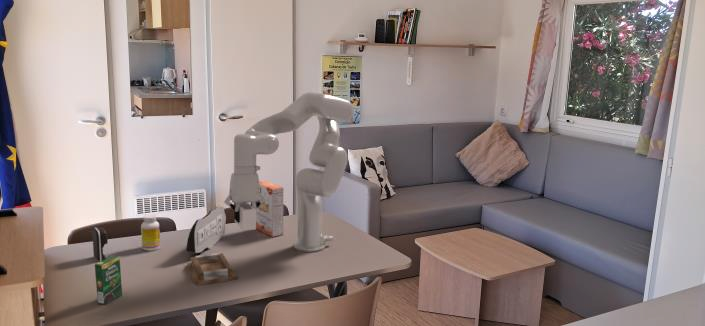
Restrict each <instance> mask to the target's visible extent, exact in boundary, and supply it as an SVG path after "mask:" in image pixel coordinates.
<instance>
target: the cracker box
mask: <svg viewBox="0 0 705 326" xmlns="http://www.w3.org/2000/svg"><path fill="white" fill-rule="evenodd" d="M259 184H260V193H261V194H262V196H263V197H264V198H265V201H264V202H263V203H262V204H260V206H259V207H258V208H257V210H256V229H255V230H258V231H260V232H262V233H263V234H265V235H267V236H270V237H272V238H274V237H280V236H283V235H284V187H282V186H279V185H277V184H274V183H273V182H270V181H267V180H263V181H259ZM255 203H256V202H255Z"/></svg>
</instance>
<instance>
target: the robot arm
mask: <svg viewBox="0 0 705 326" xmlns="http://www.w3.org/2000/svg"><path fill="white" fill-rule="evenodd" d="M354 113H355V108H354V105H353V104H352V102H350V101H349V100H347V99H345V98H339V97H336V96H333V95H331V94H330V95H329V94H326V93H325V94H324V93H319V92H306V93H303V94H302V95H300V96H299V97H297V99H295V100H294V101H292V103H291V104H289V105H288V106H286V107H285V108H284V109H283V110H282V111H279V112H277V113H274V114H272V115H270V116H267V117H265V118H263V119H260V120H259V121H257V122H255V124H253V125H252V126H251V127H249V129H247V130H246V131H245V133H237V135H235V136H234V138H233V172H232V173H231V175H230V180H229V181H230V182H229V193H228V195H227V197H226V198H225V200H224V201H223V202H224V204H225V205H227V206H228V207H229V208H231V209H232V210H233V211H234V213H233V215H234V216H233V218H234V221H235V220H236V221H237V223H239V222H240V212H239V205H240V203H250V204H251V205H252V206H253V207H254V208H255V209H256V210H257V208H258V207H259V206H260V204H262V203H263V202H264V201H265V198H264V197H263V196H262V194H261V193H260V184H259V182H260V179H259V173H258V171H260V170H261V166H260V165H257V155H265V156H267V155H272V154H274V153H276V151H278V148H279V147H280V146H279V145H280V142H279V139H278V137H277V136H276V135H279V134H286V133H290V132H295V131H296V130H298V129H299V128H301V126H303V125H304V124H305V123H306V122H308V120H310V119H311V118H312V117H314V116H315V117H316V118H317V120H318V123H319V124H318V125H319V129H318V134H317V135H316V138H315V140H314V143H313V145H312V147H311V150H310V152H309V156H308V157H309V158H308V160H309V163H310V164H311V165H312V166H314V167H317V168H320V169H324V170H320V169H316V168H311V167H310V168H309V167H307V168H302V169H300V170H299V171H298V172H297V174H296V176H295V188H296V193H297V240H296V241H294V242H293V248H294V249H295V250H297V251H300V252H306V253H308V252H309V253H313V252H318V251H323V250H324V249H325V248H326V242H331V241H334V237H333V235H328V234H325V235H324V234H323V233H322V232H323V230H322V229H323V228H322V227H323V201H322V198H331V197H332V196H334V195H335V193H336V192H337V189H338V188H339V186H340V182H341V180H342V178H343V176H344V173H345V171H346V168H347V165H348V154H347V151H346V150H345V149H344V148H343V147H341V146H338V142H339V140H340V135H341V131H340V127H339V124H338V122H339V123H348V122H349V121H351V119H352V118H353V117H354ZM255 202H256V203H255ZM237 223H236V224H237Z"/></svg>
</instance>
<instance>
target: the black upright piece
mask: <svg viewBox="0 0 705 326" xmlns="http://www.w3.org/2000/svg"><path fill="white" fill-rule="evenodd" d="M91 232H92V233H91V234H92V236H91V237H92V246H93V247H92V248H93V257H94V258H95V259H96V261H98V262H101V261H103V260H105V259H107V258H108V257H107V256H106V255H105V254H104V247H105V245H108V243H109V242H108V233H107V231H106V229H105V228H104V227H101V226H100V227H93V228H92V229H91Z"/></svg>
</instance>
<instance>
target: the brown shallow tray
mask: <svg viewBox="0 0 705 326" xmlns="http://www.w3.org/2000/svg"><path fill="white" fill-rule="evenodd" d="M186 267H187V269H188V272H189V274H190V276H191V279H192V280H193V284H194V286H199V285H207V284H213V283H219V282H220V283H221V282H227V281H234V280H238V275H237V273H236V272H235V271H234V269H233V266H231V263H229V261H228V260H227V258H226V256H225V255H224V254H223V253H207V254H200V255H195V256H192V257H190V262H188V263H187V262H186Z"/></svg>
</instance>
